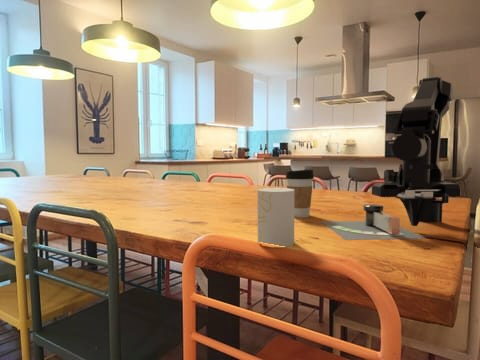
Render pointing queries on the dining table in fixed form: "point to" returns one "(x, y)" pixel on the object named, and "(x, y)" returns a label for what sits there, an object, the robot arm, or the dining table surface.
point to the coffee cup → (301, 190)
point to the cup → (276, 216)
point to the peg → (381, 219)
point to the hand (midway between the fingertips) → (414, 225)
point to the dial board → (366, 231)
